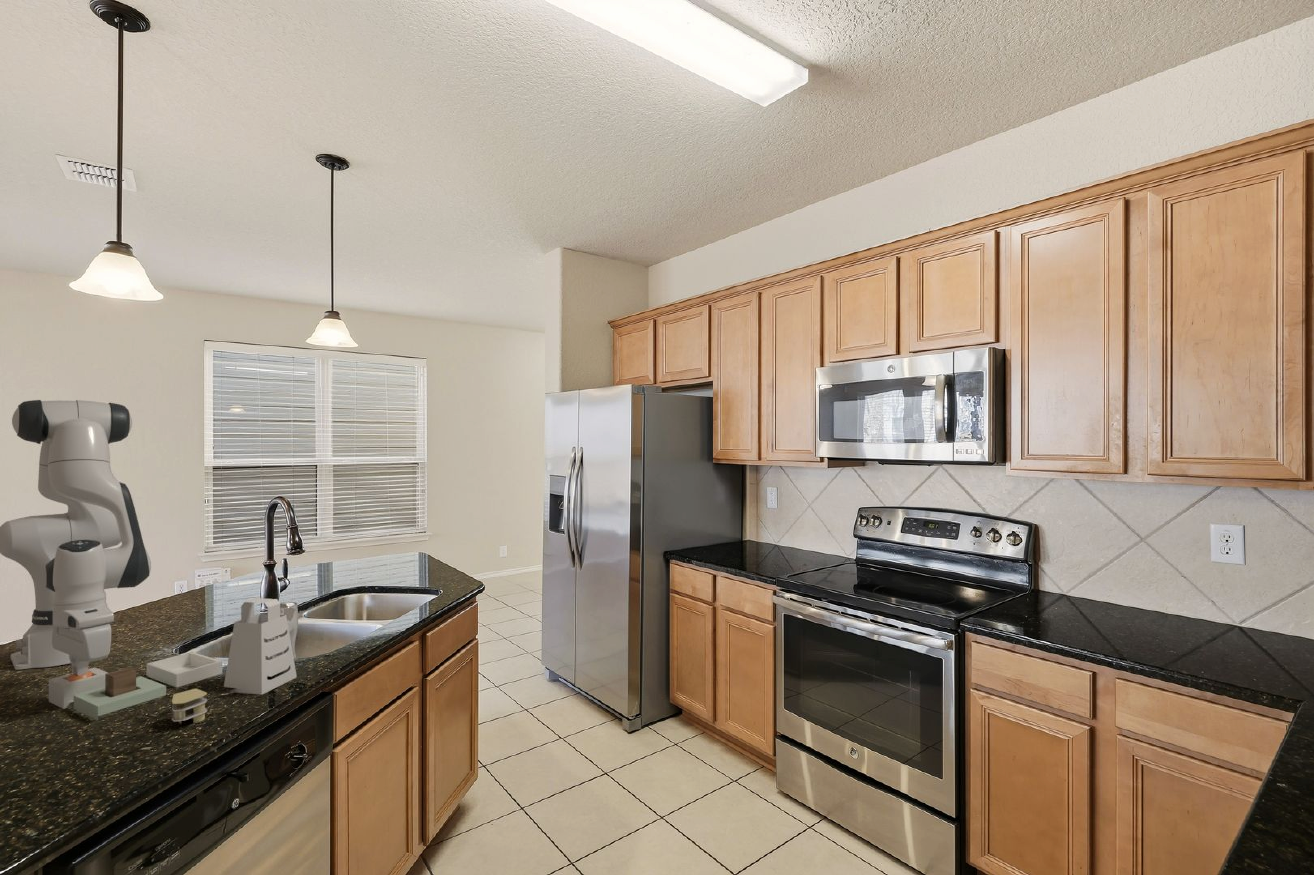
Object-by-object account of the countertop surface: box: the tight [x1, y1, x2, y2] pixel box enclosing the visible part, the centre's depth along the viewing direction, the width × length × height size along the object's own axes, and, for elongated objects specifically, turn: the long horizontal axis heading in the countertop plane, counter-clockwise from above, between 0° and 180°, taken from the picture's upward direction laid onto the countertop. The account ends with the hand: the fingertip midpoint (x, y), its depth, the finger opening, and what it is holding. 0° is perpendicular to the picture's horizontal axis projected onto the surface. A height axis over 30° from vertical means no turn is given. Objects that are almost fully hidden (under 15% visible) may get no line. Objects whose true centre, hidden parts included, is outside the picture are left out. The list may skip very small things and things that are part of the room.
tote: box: [146, 651, 223, 688], centre depth 149 cm, size 15×10×4 cm, turn 62°
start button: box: [68, 671, 92, 682], centre depth 138 cm, size 4×4×3 cm
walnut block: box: [105, 667, 137, 698], centre depth 135 cm, size 4×4×6 cm
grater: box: [223, 597, 298, 696], centre depth 146 cm, size 10×10×20 cm
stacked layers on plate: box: [171, 688, 208, 725], centre depth 127 cm, size 10×9×6 cm
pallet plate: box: [73, 675, 167, 722], centre depth 135 cm, size 12×12×3 cm
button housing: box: [48, 667, 109, 710], centre depth 138 cm, size 8×8×5 cm
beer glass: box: [266, 601, 299, 660], centre depth 160 cm, size 7×7×15 cm
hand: (79, 673), depth 138 cm, fingers closed, pressing on start button
